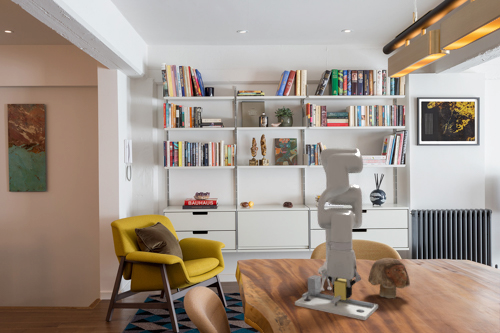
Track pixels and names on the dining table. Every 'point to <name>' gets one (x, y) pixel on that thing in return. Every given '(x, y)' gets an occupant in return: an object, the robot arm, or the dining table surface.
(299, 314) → the dining table surface
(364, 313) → the hole plate
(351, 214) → the robot arm
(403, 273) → the sculpture
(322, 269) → the figurine
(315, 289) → the rail
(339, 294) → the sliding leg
